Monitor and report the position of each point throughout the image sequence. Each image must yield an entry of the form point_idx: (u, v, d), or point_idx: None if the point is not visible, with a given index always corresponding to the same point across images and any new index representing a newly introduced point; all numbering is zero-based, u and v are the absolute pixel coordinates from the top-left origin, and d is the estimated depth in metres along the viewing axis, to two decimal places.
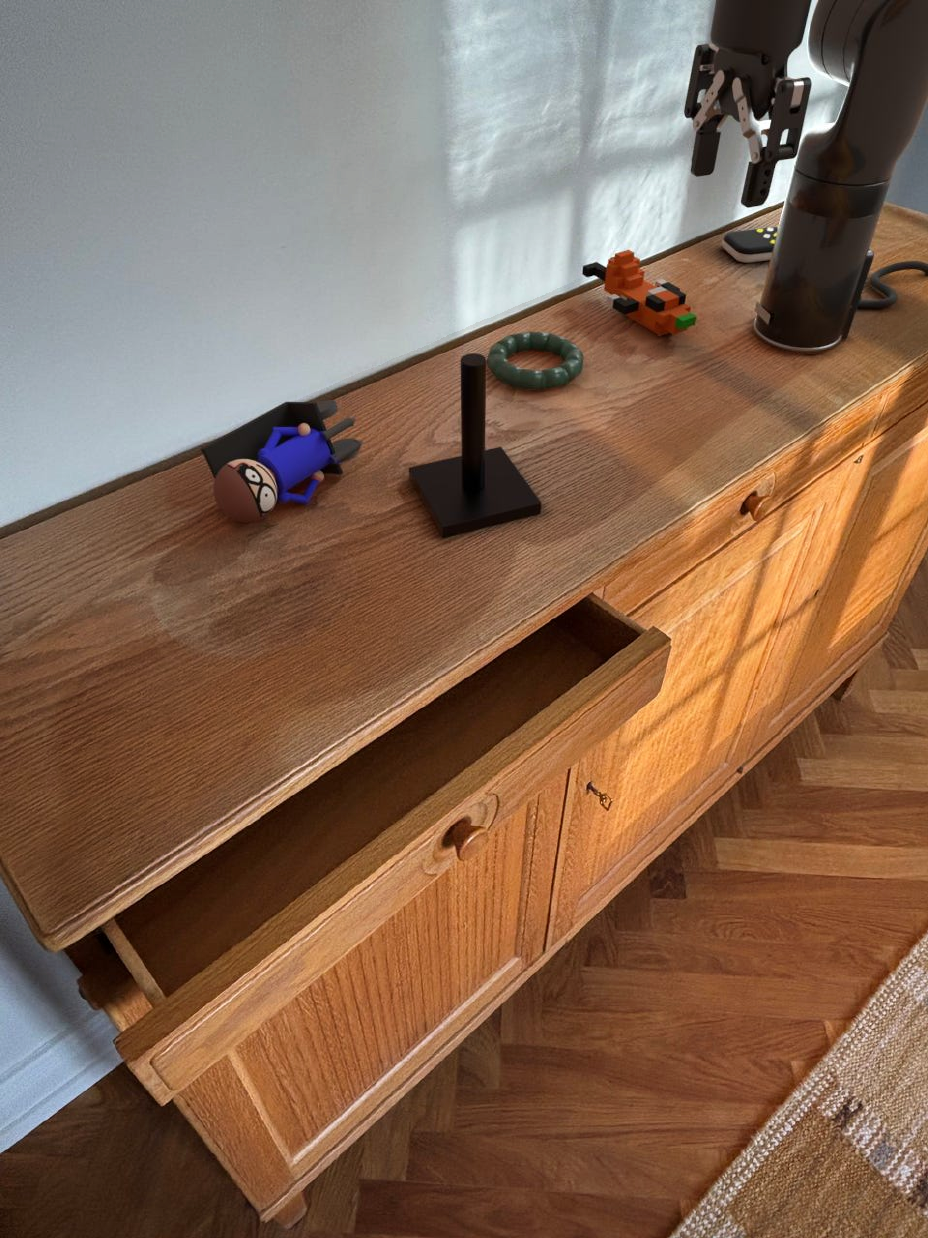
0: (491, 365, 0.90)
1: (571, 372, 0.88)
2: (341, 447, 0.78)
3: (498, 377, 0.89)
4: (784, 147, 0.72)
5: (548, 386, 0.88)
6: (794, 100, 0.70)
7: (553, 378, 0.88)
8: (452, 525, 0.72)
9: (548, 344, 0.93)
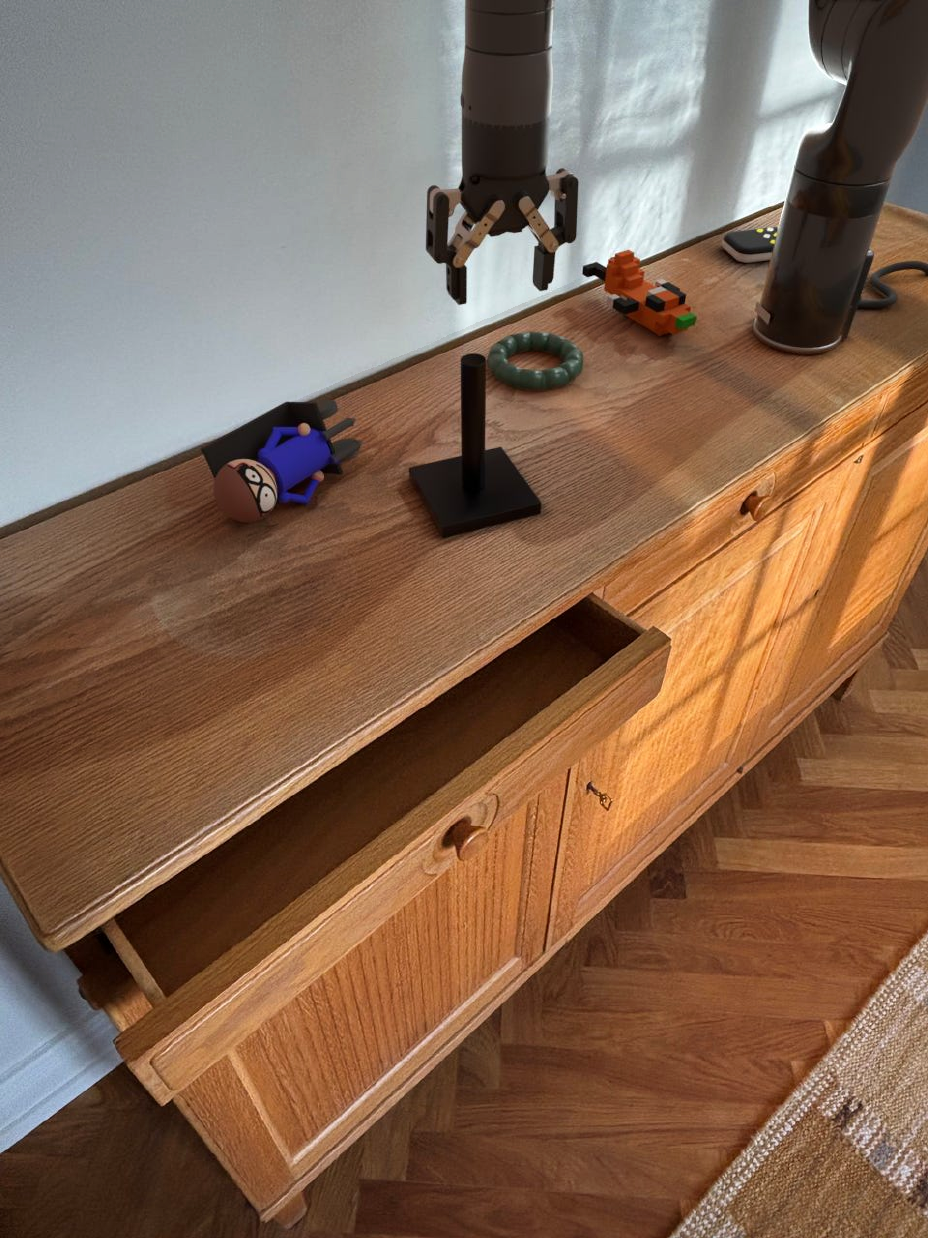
0: (491, 365, 0.90)
1: (571, 372, 0.88)
2: (341, 447, 0.78)
3: (498, 377, 0.89)
4: (432, 247, 0.79)
5: (548, 386, 0.88)
6: (430, 206, 0.76)
7: (553, 378, 0.88)
8: (452, 525, 0.72)
9: (548, 344, 0.93)
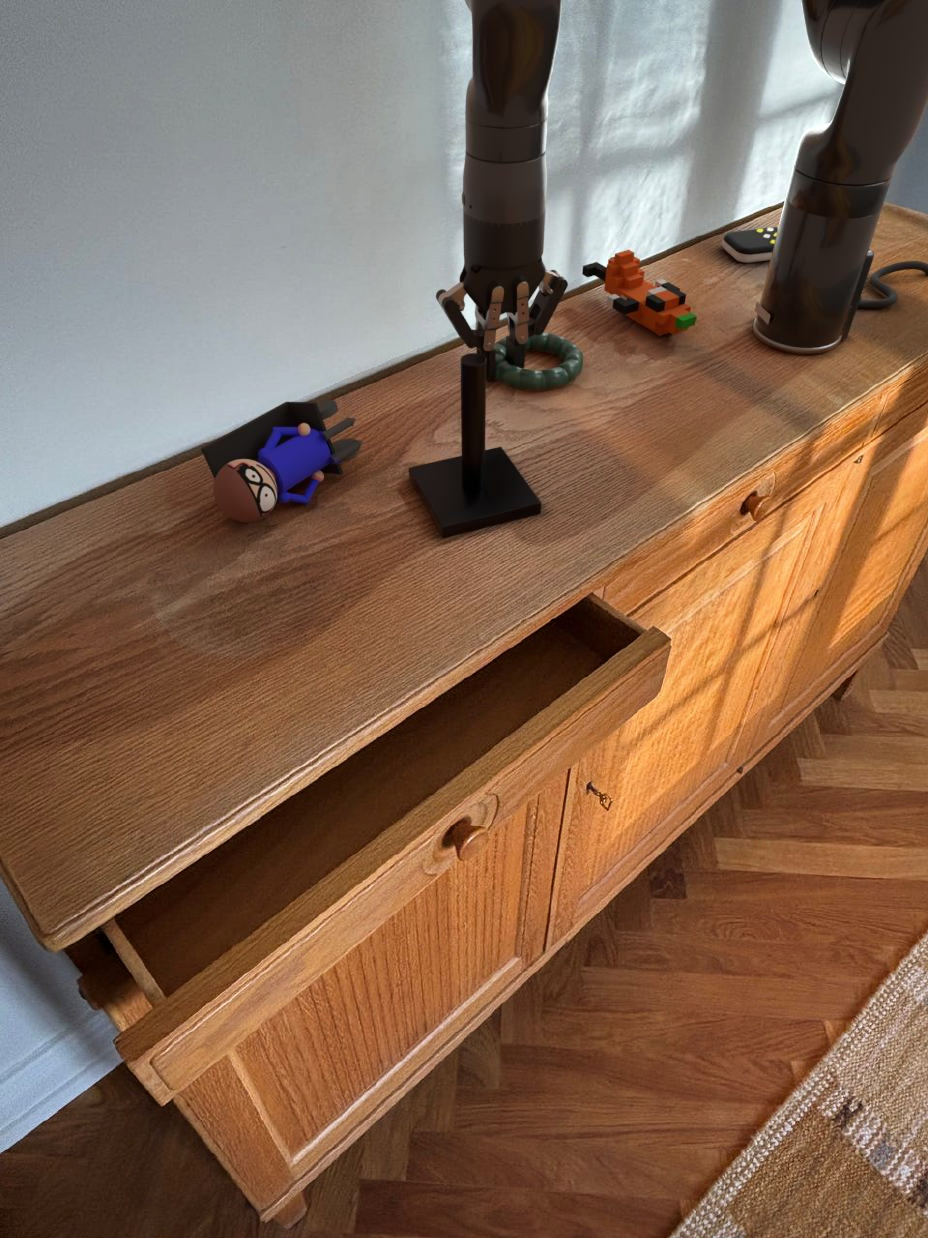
0: None
1: (571, 372, 0.88)
2: (341, 447, 0.78)
3: (498, 377, 0.89)
4: None
5: (548, 386, 0.88)
6: (443, 309, 0.84)
7: (553, 378, 0.88)
8: (452, 525, 0.72)
9: (548, 344, 0.93)
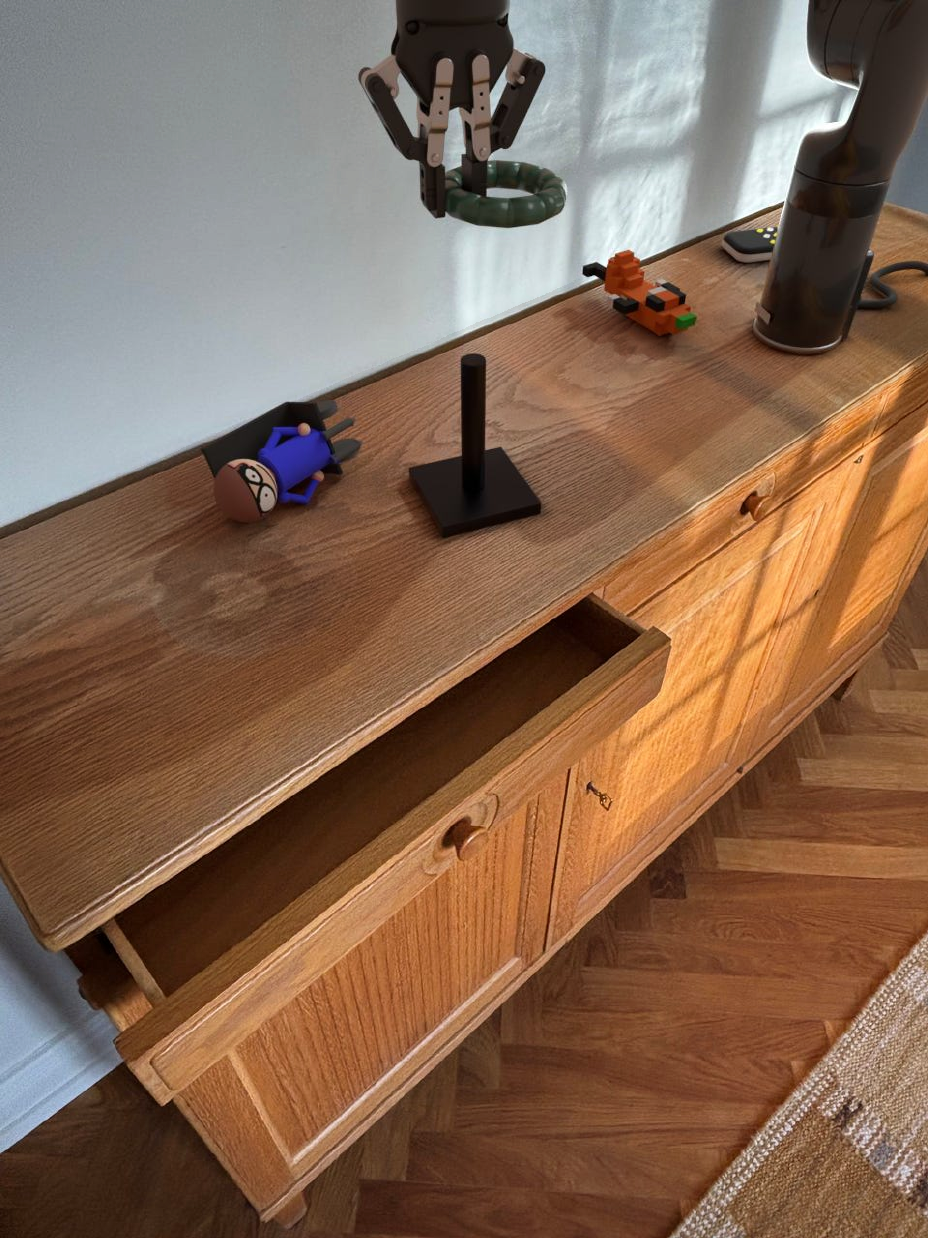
0: None
1: (549, 203, 0.64)
2: (341, 447, 0.78)
3: (449, 209, 0.65)
4: None
5: (517, 220, 0.64)
6: (369, 97, 0.59)
7: (524, 208, 0.63)
8: (452, 525, 0.72)
9: (520, 176, 0.68)
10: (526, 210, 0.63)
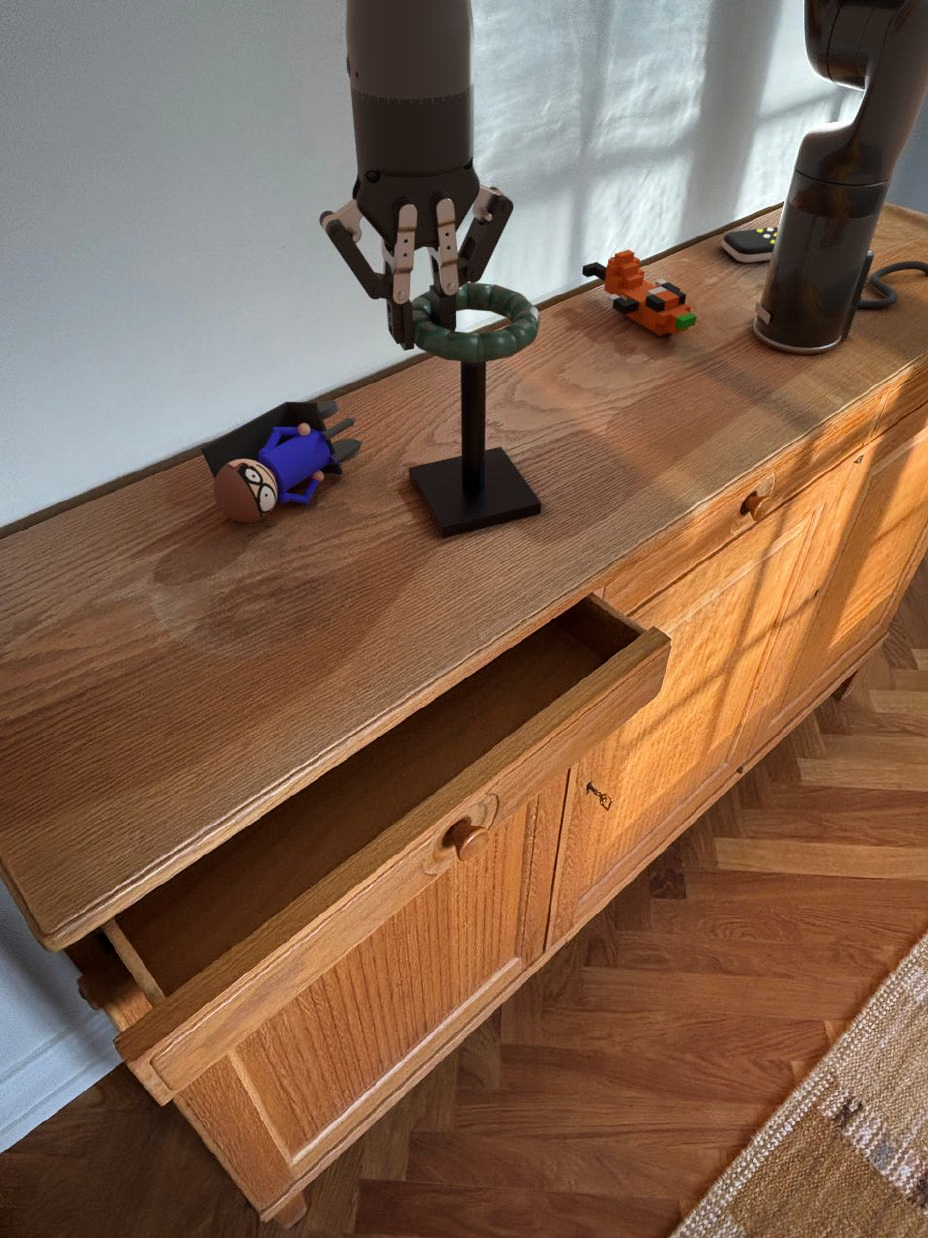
0: None
1: (521, 337, 0.62)
2: (341, 447, 0.78)
3: (417, 343, 0.63)
4: None
5: (487, 356, 0.62)
6: None
7: (494, 345, 0.61)
8: (452, 525, 0.72)
9: (492, 300, 0.67)
10: (496, 346, 0.61)
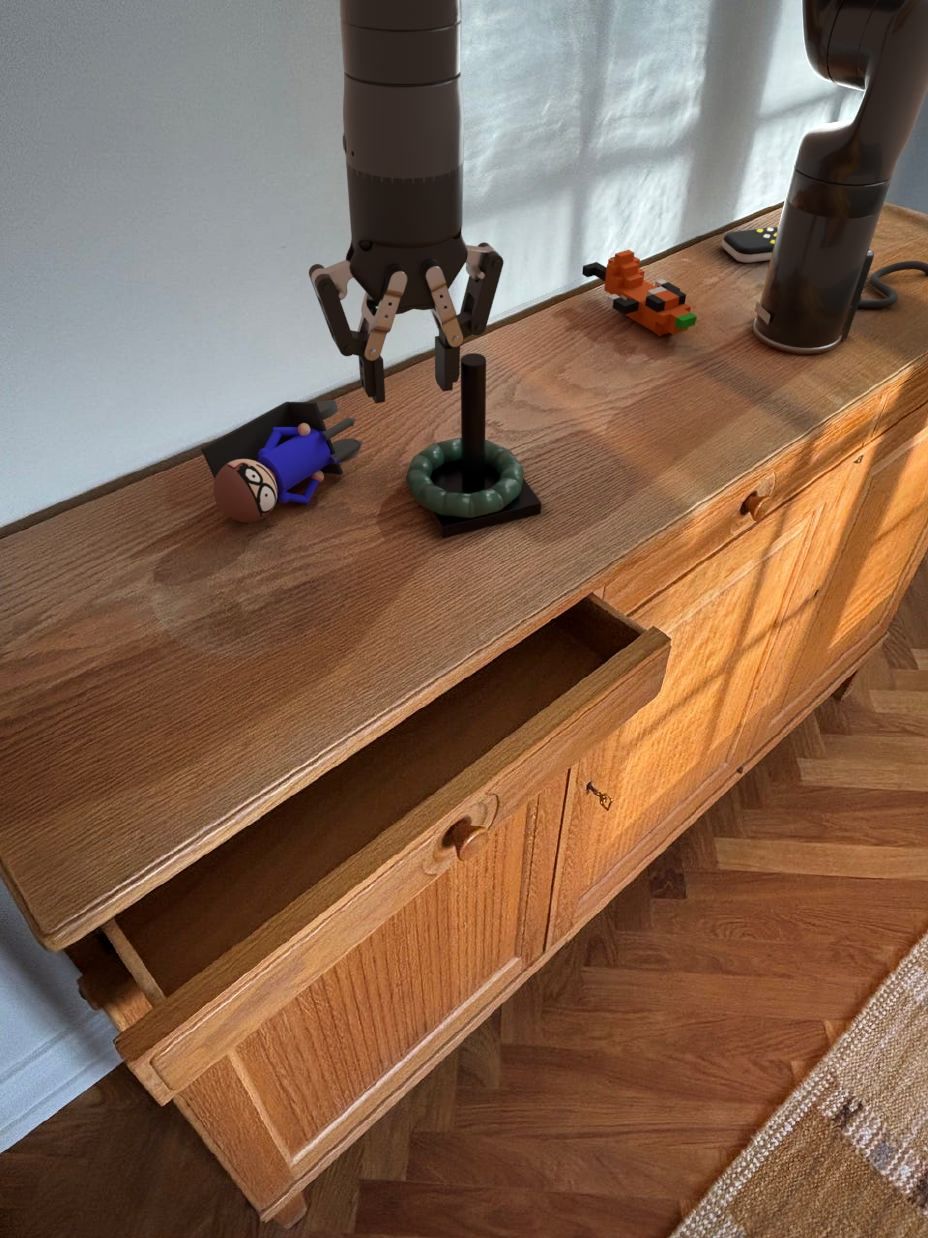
0: (410, 485, 0.74)
1: (506, 495, 0.72)
2: (341, 447, 0.78)
3: (418, 500, 0.73)
4: None
5: (478, 514, 0.72)
6: (316, 292, 0.59)
7: (483, 504, 0.71)
8: (452, 525, 0.72)
9: None
10: (485, 505, 0.71)
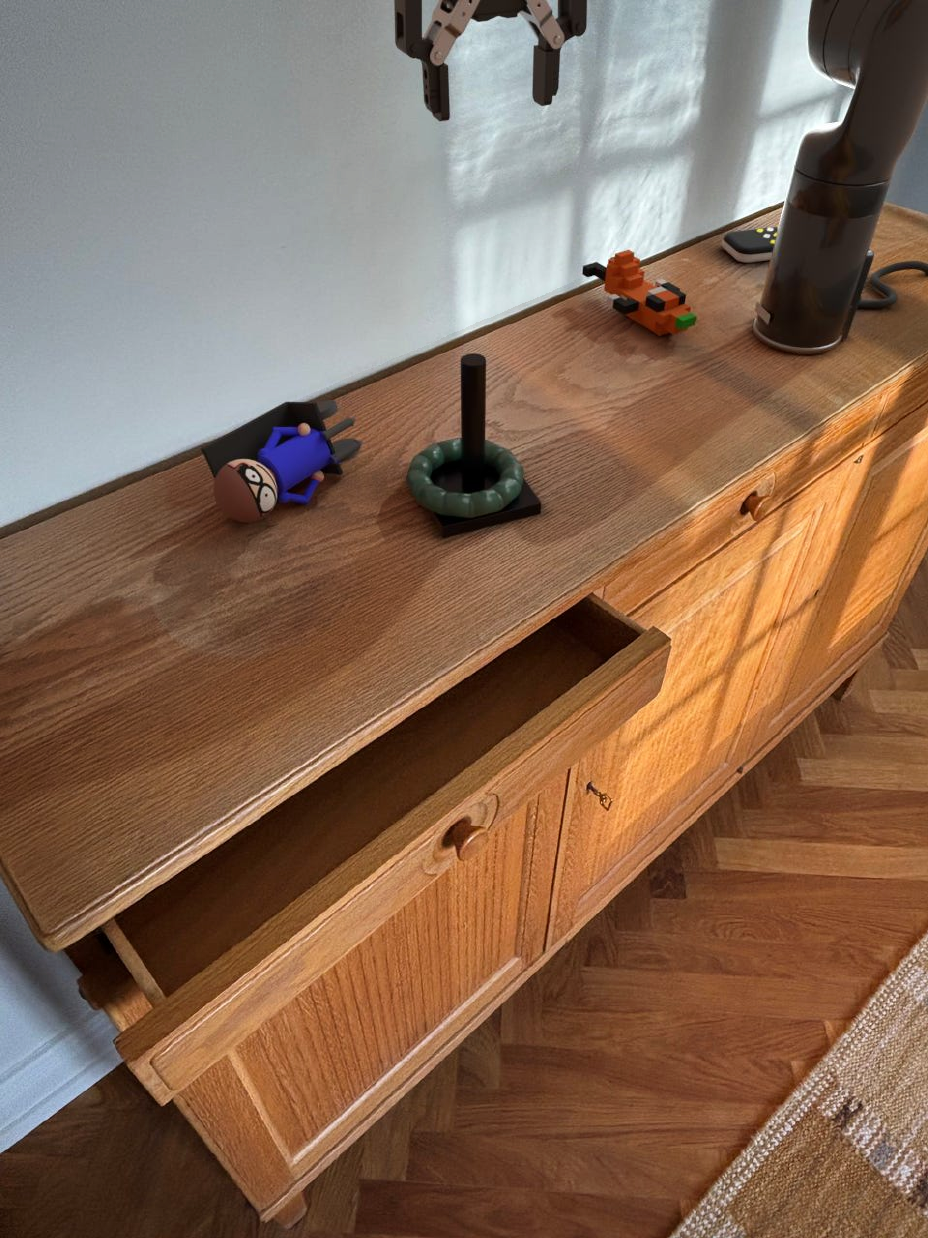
0: (410, 485, 0.74)
1: (506, 495, 0.72)
2: (341, 447, 0.78)
3: (418, 500, 0.73)
4: (403, 37, 0.62)
5: (478, 514, 0.72)
6: None
7: (483, 504, 0.71)
8: (452, 525, 0.72)
9: None
10: (485, 505, 0.71)
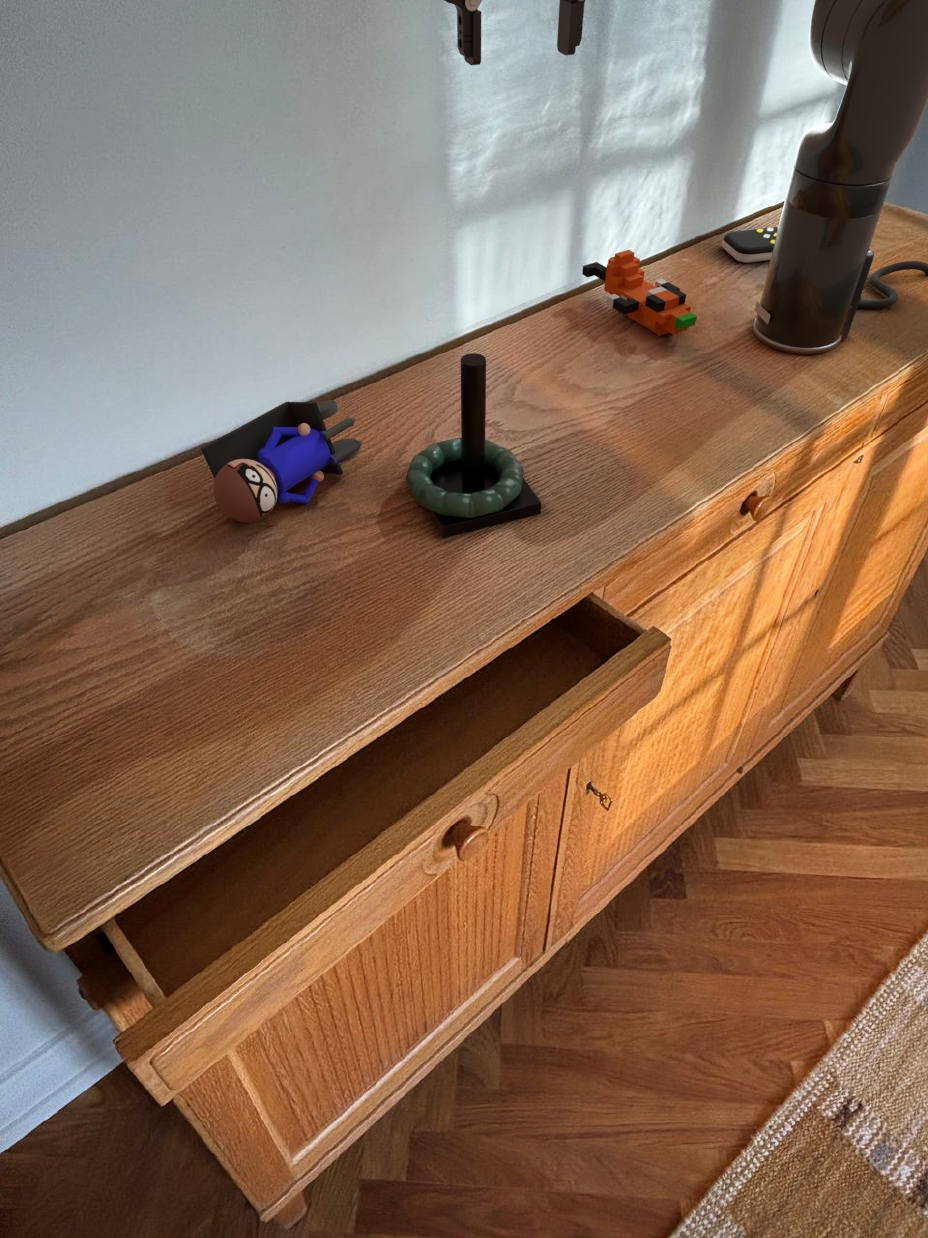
0: (410, 485, 0.74)
1: (506, 495, 0.72)
2: (341, 447, 0.78)
3: (418, 500, 0.73)
4: None
5: (478, 514, 0.72)
6: None
7: (483, 504, 0.71)
8: (452, 525, 0.72)
9: None
10: (485, 505, 0.71)
